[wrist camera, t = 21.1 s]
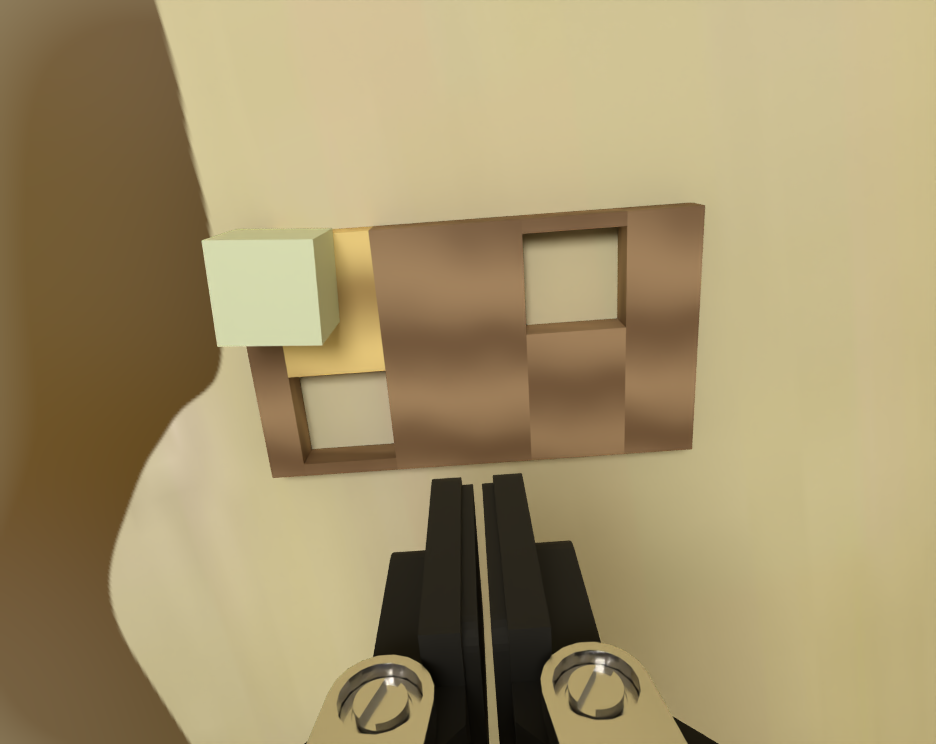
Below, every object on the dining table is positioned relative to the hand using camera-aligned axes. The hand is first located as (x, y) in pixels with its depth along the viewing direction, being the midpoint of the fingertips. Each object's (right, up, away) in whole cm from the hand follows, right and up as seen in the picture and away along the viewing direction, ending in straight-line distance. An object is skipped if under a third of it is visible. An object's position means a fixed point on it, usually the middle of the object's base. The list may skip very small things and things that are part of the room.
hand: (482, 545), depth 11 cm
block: (-10, +8, +21) cm, 25 cm away
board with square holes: (0, +5, +25) cm, 25 cm away
